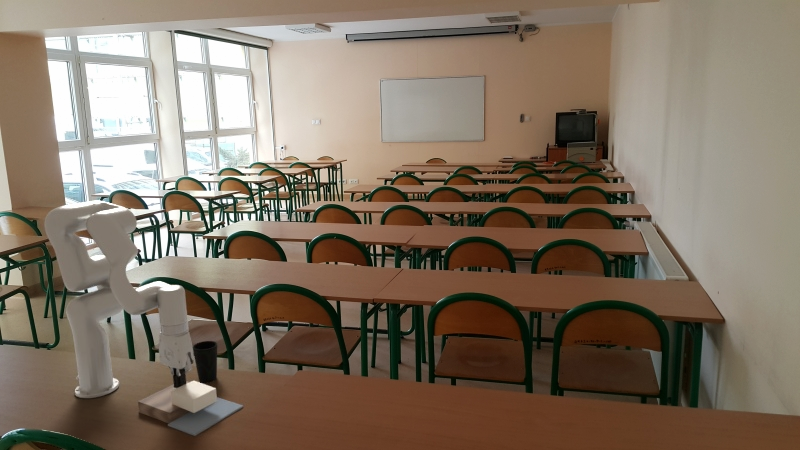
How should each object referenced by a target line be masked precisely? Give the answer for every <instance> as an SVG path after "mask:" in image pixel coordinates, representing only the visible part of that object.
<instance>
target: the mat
mask: <svg viewBox="0 0 800 450" xmlns="http://www.w3.org/2000/svg"><path fill="white" fill-rule="evenodd" d="M243 408H244V405H243V404H239V403H237V402H234V401H229V400H227V399H223V398H221V397H218V396H217V401H216V402H214V403H212V404H211V405H209V406H207V407H205V408H203V409H201V410H199V411H197V412H195V413H193V412H189V413H187V414H185V415H184V416H182V417H180V418H178V419H176V420H175V421H173V422H171V423H167V426H168V427H170V428H173V429H174V430H177V431H181V432H183V433H185V434H188V435H190V436H194V437H196V436H197V435H199V434H200V433H202V432H204V431H206V430H207V429H209V428H211V427H212V426H215V425H216V424H217V423H219V422H221V421H222V420H224V419H226V418H227V417H228V418H229V416H231V415H233V414H234V413H236V412H238V411H239V410H240V409H243Z"/></svg>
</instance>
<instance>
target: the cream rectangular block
mask: <svg viewBox="0 0 800 450" xmlns="http://www.w3.org/2000/svg"><path fill="white" fill-rule="evenodd" d="M188 382H189V383H187V384H185V385H183V386H181V387H178V388H176V389H174V390H172V391H171V400H172V404H173V405H176V406H178V407H181V408H183V409H186V410H188V411H191V412H193V413H195V412H197V411H199V410H201V409H203V408H205V407H207V406H209V405H211V404H212V403H214V402H216V401H217V397H218V396H217V388H216V387H213V386H210V385H208V384H206V383H200V382H199V381H196V380H191V381H188Z"/></svg>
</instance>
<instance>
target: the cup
mask: <svg viewBox="0 0 800 450" xmlns="http://www.w3.org/2000/svg"><path fill="white" fill-rule="evenodd" d="M192 347H193V354H194V361H195V362H194V363H195V367H196V372H197V376H198V377H197V378H198V382H201V383H202V384H210V382H211V383H213V382H215V381H216V380H217V379H218V376H217V374H218V342H216V341H214V340H205V341H200V342H197V343H194V344H193V345H192Z"/></svg>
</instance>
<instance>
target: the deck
mask: <svg viewBox="0 0 800 450" xmlns="http://www.w3.org/2000/svg"><path fill="white" fill-rule="evenodd" d="M189 382H190V381H188V380H186V384H187V383H189ZM174 389H176V388H174V383H173V384H171V385H169V386H167V387H164V388H163V389H161V390H159V391H156V392H154V393H152V394H150V395H149V396H146V397H144V398H142V399H139V400H138V401H137V405H138V413H140V414H142V415H146V416H148V417H150V418H153V419H155V420H159V421H161V422H164V423H165V424H166V423H167V424H169V423H171V422H173V421H175V420H176V419H178V418H180V417H182V416H184V415H185V414H187V413H189V412H191V411H188V410H186V409H183V408H181V407H178V406H176V405H173V404H172V400H171V391H172V390H174Z"/></svg>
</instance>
